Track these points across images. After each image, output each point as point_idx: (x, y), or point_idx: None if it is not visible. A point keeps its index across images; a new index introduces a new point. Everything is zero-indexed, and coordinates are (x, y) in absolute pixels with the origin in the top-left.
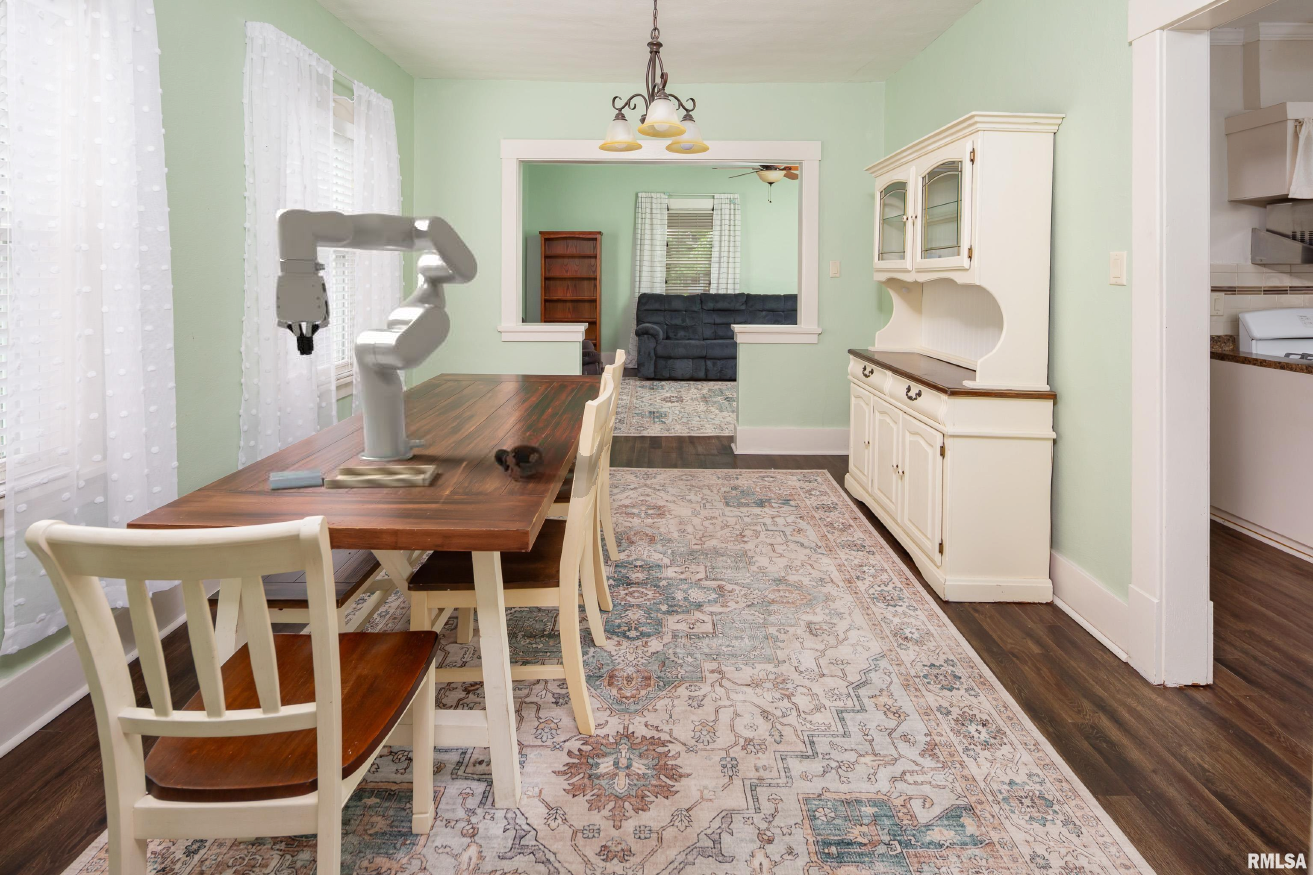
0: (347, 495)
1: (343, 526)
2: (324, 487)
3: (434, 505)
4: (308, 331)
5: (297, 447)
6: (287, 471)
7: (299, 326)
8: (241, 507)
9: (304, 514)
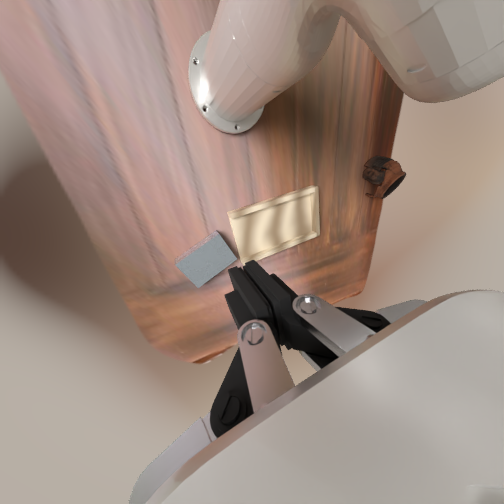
0: (265, 268)
1: None
2: (241, 262)
3: (325, 269)
4: (322, 356)
5: None
6: (190, 254)
7: (276, 382)
8: (206, 320)
9: None
